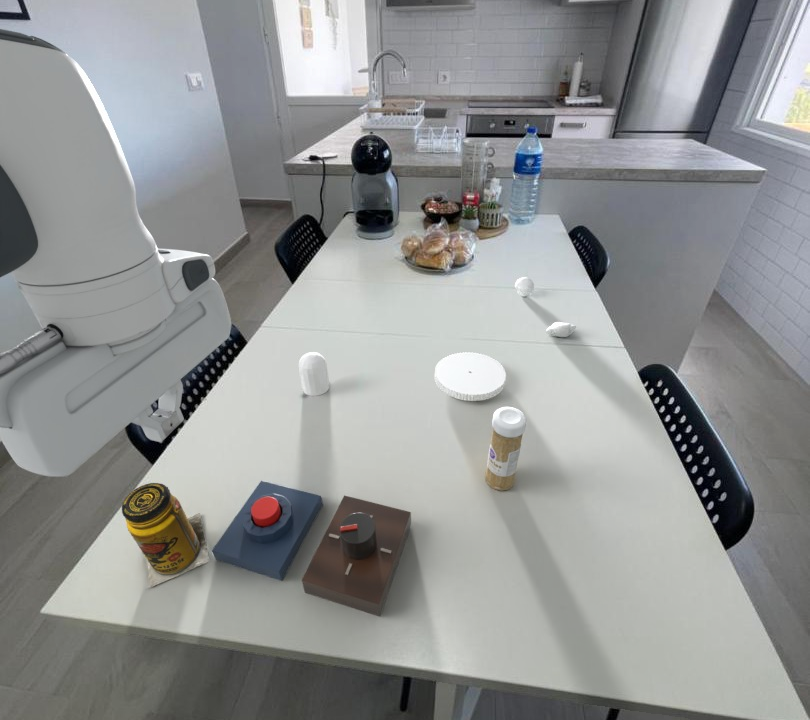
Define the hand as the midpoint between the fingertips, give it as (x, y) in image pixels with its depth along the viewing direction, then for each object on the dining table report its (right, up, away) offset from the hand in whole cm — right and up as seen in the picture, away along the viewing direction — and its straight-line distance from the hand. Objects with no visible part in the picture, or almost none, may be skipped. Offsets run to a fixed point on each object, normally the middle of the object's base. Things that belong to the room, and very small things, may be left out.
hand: (166, 430), depth 41 cm
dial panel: (+16, -20, +18) cm, 31 cm away
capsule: (+4, +1, +48) cm, 48 cm away
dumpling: (+58, +12, +62) cm, 86 cm away
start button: (+3, -15, +20) cm, 25 cm away
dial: (+16, -17, +17) cm, 29 cm away
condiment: (-9, -19, +20) cm, 29 cm away
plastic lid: (+35, +2, +49) cm, 60 cm away
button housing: (+3, -18, +22) cm, 28 cm away
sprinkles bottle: (+37, -12, +29) cm, 48 cm away
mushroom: (+54, +24, +79) cm, 98 cm away
